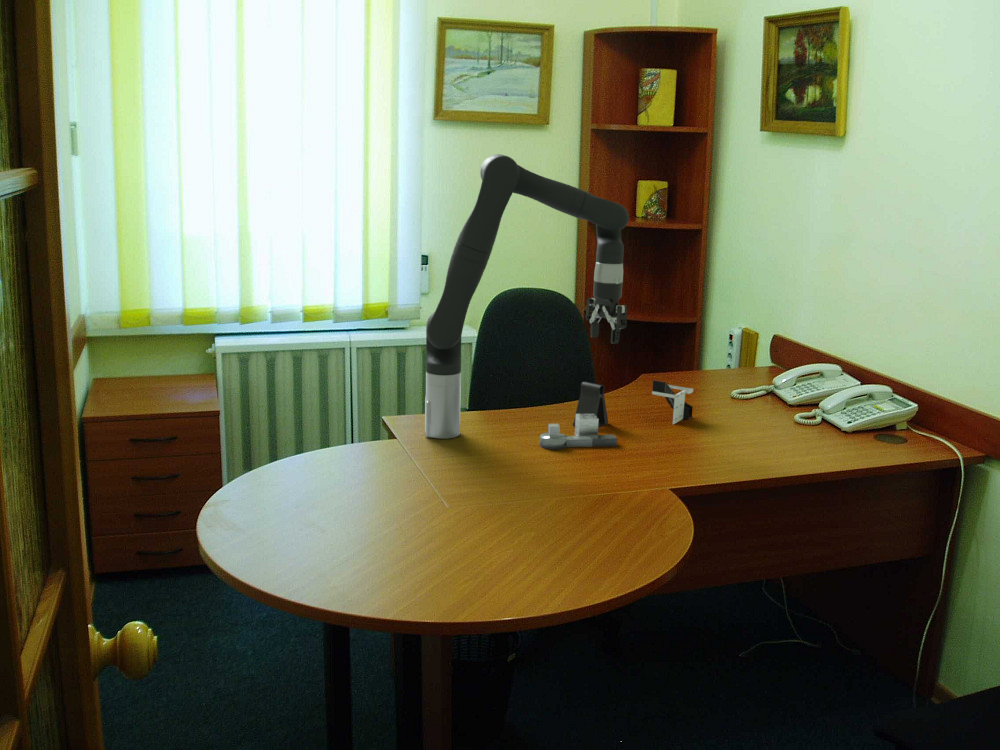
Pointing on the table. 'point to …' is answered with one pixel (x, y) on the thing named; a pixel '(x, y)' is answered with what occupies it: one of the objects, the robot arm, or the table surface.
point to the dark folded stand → (592, 402)
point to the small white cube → (586, 425)
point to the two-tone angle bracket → (674, 399)
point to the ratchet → (573, 439)
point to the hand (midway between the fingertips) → (604, 340)
